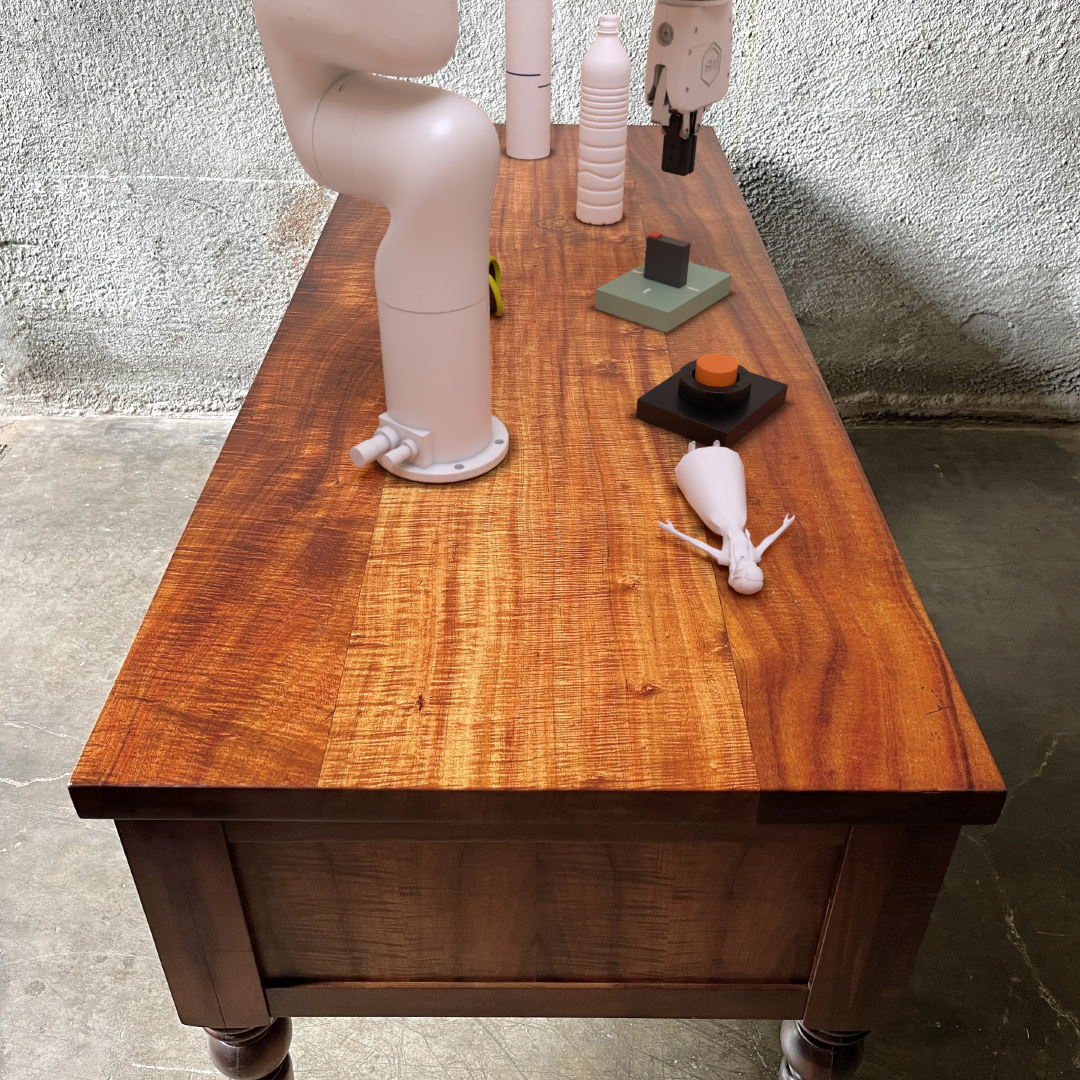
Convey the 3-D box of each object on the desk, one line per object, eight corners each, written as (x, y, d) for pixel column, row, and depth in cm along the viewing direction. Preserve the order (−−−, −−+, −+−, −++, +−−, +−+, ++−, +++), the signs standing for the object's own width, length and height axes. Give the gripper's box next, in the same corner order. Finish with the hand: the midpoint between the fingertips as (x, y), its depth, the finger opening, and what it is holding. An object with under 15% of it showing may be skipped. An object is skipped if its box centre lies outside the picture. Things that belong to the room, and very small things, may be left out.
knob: (686, 284, 121) (691, 240, 118) (679, 288, 120) (683, 244, 117) (651, 273, 124) (654, 230, 121) (643, 277, 123) (646, 234, 120)
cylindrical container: (501, 148, 172) (499, -22, 157) (542, 144, 173) (544, -24, 158) (513, 160, 166) (512, -14, 151) (555, 157, 168) (558, -16, 153)
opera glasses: (462, 295, 126) (452, 256, 123) (504, 286, 126) (495, 247, 123) (461, 330, 119) (451, 290, 116) (506, 321, 118) (497, 280, 115)
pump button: (722, 392, 98) (724, 376, 97) (686, 380, 100) (688, 363, 99) (743, 377, 101) (746, 361, 100) (708, 365, 103) (710, 349, 102)
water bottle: (620, 227, 143) (632, 28, 128) (573, 224, 144) (579, 26, 129) (625, 205, 150) (636, 15, 135) (580, 203, 151) (587, 13, 136)
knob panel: (666, 333, 117) (668, 311, 115) (594, 309, 122) (595, 287, 120) (729, 293, 126) (732, 272, 124) (660, 272, 131) (661, 252, 129)
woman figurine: (771, 427, 91) (832, 564, 78) (763, 468, 94) (820, 607, 81) (640, 432, 90) (679, 571, 77) (636, 473, 93) (673, 614, 80)
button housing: (724, 453, 97) (729, 415, 94) (635, 418, 102) (638, 382, 99) (785, 404, 104) (791, 368, 102) (699, 373, 109) (703, 339, 107)
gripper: (687, -2, 96) (670, 197, 107) (764, -22, 105) (741, 162, 116) (620, -11, 99) (609, 182, 110) (700, -30, 109) (683, 149, 120)
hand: (677, 171), depth 113 cm, fingers closed
